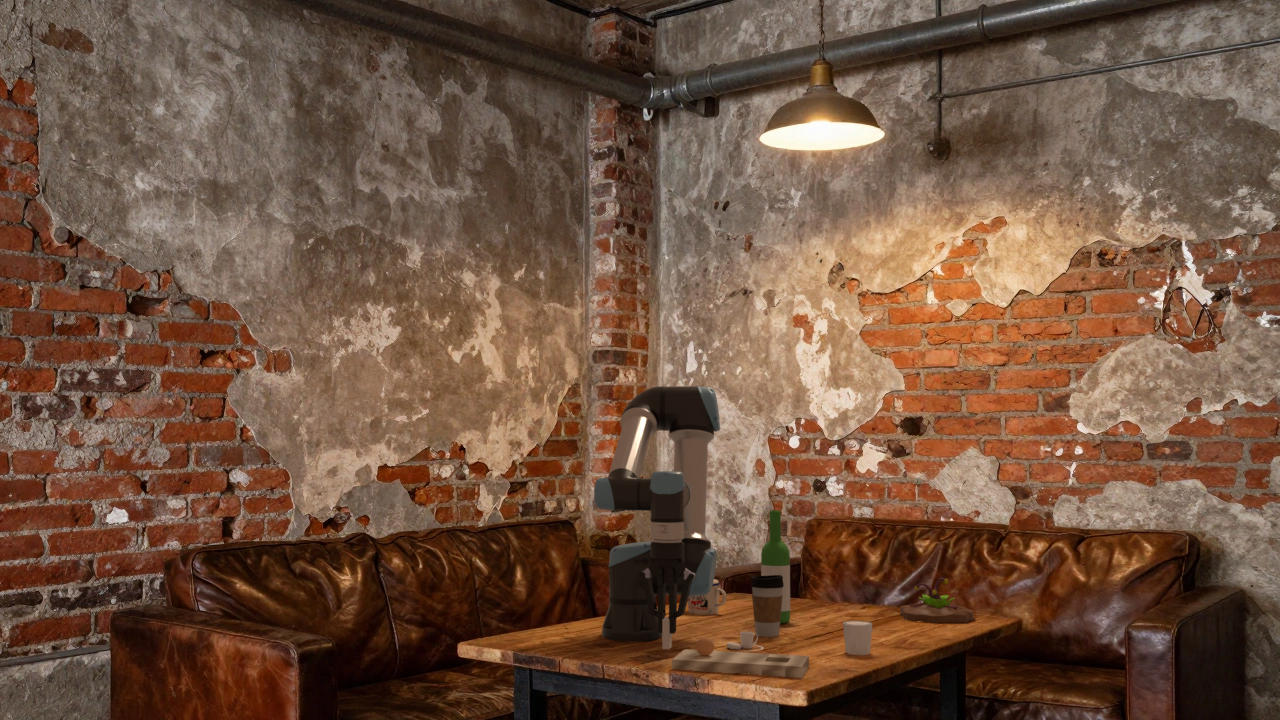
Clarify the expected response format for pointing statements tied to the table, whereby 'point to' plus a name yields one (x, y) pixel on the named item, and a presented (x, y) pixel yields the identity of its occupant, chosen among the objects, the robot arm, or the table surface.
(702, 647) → the ball
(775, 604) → the coffee cup
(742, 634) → the teacup and saucer
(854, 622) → the white cup
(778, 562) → the wine bottle
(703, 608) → the teacup with lid
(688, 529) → the robot arm
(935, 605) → the plant
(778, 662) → the box with square hole
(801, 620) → the table surface
